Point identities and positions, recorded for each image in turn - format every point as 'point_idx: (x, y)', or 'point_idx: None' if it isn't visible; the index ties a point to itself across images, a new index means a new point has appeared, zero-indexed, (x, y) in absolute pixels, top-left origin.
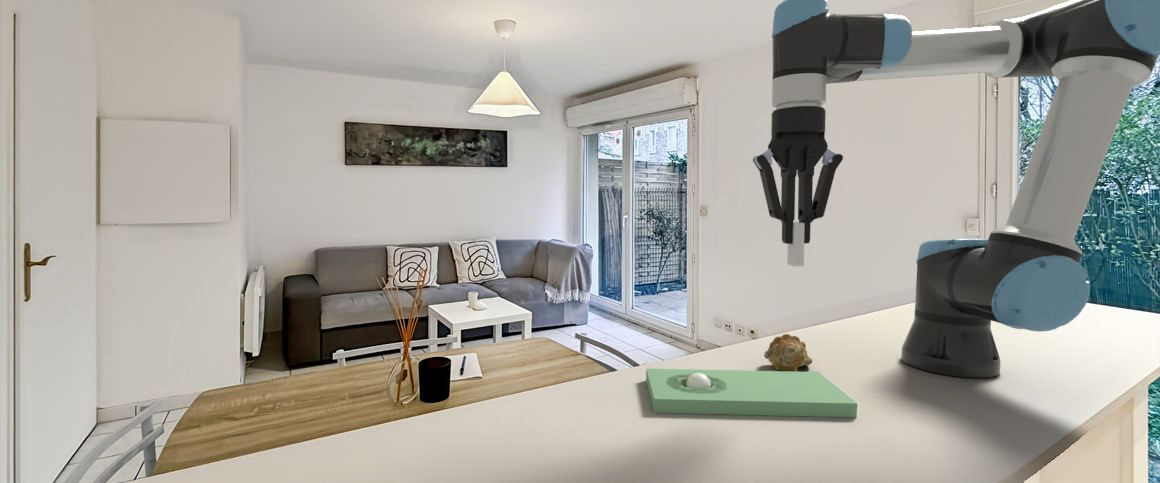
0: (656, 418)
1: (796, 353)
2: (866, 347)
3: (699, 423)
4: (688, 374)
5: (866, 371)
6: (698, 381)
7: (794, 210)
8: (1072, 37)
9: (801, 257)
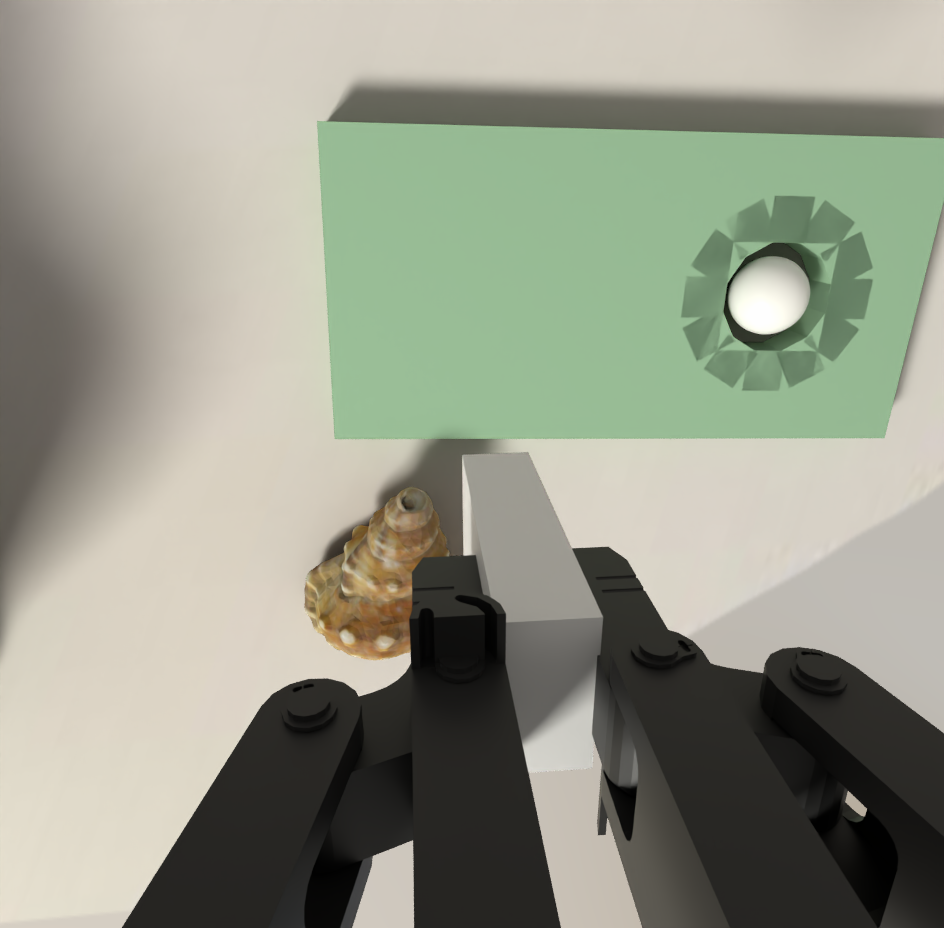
0: (935, 96)
1: (393, 500)
2: (56, 787)
3: (823, 57)
4: (771, 386)
5: (138, 556)
6: (790, 266)
7: (643, 721)
8: None
9: (484, 475)
